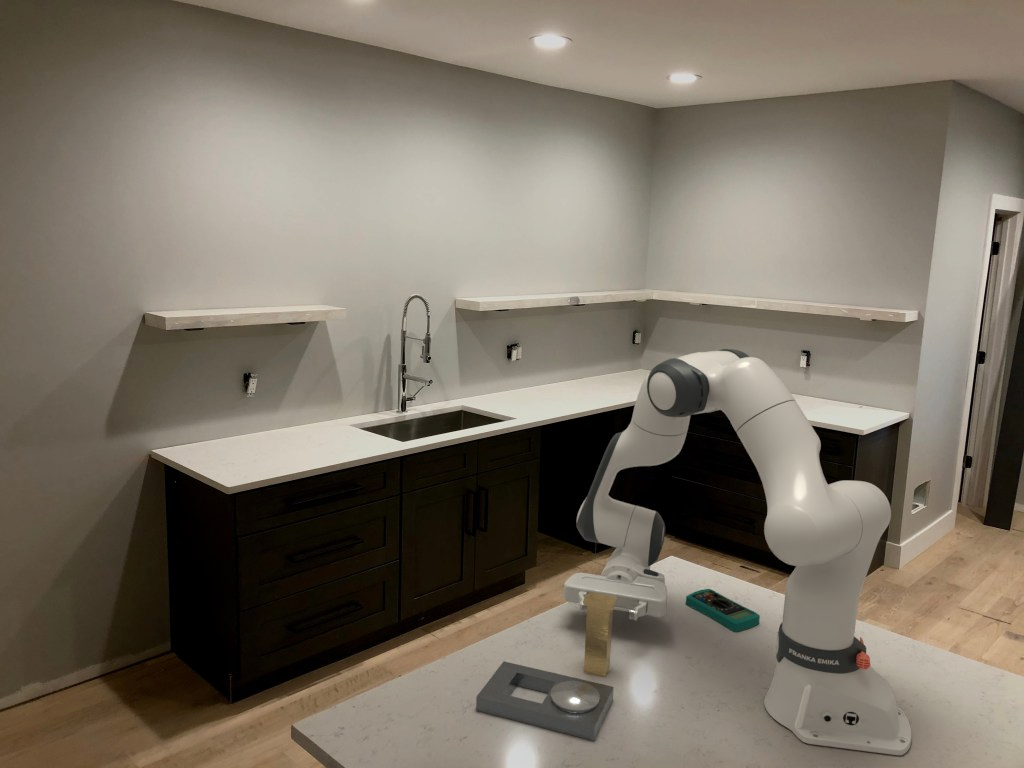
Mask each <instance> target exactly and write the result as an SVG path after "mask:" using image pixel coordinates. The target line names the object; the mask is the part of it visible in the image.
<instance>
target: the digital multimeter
mask: <svg viewBox="0 0 1024 768" xmlns="http://www.w3.org/2000/svg"><path fill="white" fill-rule="evenodd" d="M685 599H686V600H685V605H686V606H687V607H690V608H691V609H693V610H695V611H697V612H699V613H701V614H703V615H705V616H707V617H709V618H710V619H711V620H713V621H715V622H717V623H719V624H721V625H723V627H725V628H727V629H728V630H730V631H732V632H734V633H736V632H741V631H745V630H748V629H751V628H753V627H756V626H757V625H759V624H760V617H761V616H760V615H759V614H758V613H757V612H755V611H753V610H751V609H750V608H748V607H745V606H743V605H742V604H739V603H738V602H736V601H733V600H731V599H730V598H727V597H726V596H724V595H722V594H720V593H719V592H717V591H715V590H714V589H711V588H705V589H700V590H697V591H695V592H692V593H690V594H688V595H686V598H685Z"/></svg>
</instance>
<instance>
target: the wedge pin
mask: <svg viewBox="0 0 1024 768" xmlns="http://www.w3.org/2000/svg"><path fill="white" fill-rule="evenodd" d="M616 603H617V597H615V596H610V595H605V594H600V593H594V592H589V593H588V594H587V596H586V597H585V599H584V604H583V605H586V606H587V612H586V618H585V619H586V620H585V622H586V623H585V637H584V639H585V641H584V642H585V643H584V657H583V658H584V659H583V660H584V661H583V662H584V663H583V673H586V674H590V675H595V676H600V677H604V678H606V677H607V675H608V673H609V671H610V667H611V652H612V651H611V650H612V649H611V648H612V634H613V633H612V632H613V619H614V618H613V616H614V609H613V608H614V607H615V605H616Z"/></svg>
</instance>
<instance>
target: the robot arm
mask: <svg viewBox="0 0 1024 768" xmlns="http://www.w3.org/2000/svg"><path fill="white" fill-rule="evenodd" d="M716 411H722V413H724V414H725V416H726V417H727V419H728V420H729V421H730V425H732V427H733V429H734V431H735V433H736V434H737V437H738V439H740V442H741V443H742V445H743V447H744V449H745V450H746V453H747V454H748V456H749V457H750V459H751V461H752V463H753V464H754V466H755V469H756V470H757V472H758V476H759V478H760V480H761V482H762V483H761V484H762V487H763V490H764V494H765V495H764V496H765V500H766V506H767V513H766V514H767V515H766V516H765V517H766V518H765V521H764V525H763V526H764V527H763V528H764V529H763V532H764V537H765V541H766V543H767V545H768V548H769V550H770V551H771V552H772V553H773V555H774V556H775V557H776V558H778V560H780V561H782V562H783V563H785V564H786V565H789V566H794V570H793V571H792V572H791V573H790V575H789V576H788V579H787V582H786V584H785V591H784V602H783V611H782V612H783V613H782V621H781V623H780V624H779V628H778V631H777V637H776V644H775V645H776V646H775V655H776V656H775V657H776V663H775V664H776V665H775V668H774V672H773V675H772V679H771V683H770V685H769V688H768V691H767V693H766V694H765V696H764V699H763V704H764V707H765V709H766V711H767V713H768V714H769V715H770V716H771V718H773V719H774V720H775V721H776V722H778V723H779V724H781V725H782V726H783V727H786V728H787V729H789V730H790V731H792V733H793V734H794V735H795V736H796V737H797V738H798V739H799V740H800V741H801V742H803V743H804V744H805V743H806V744H808V745H816V746H823V747H832V748H838V749H845V750H846V749H848V750H855V751H862V752H870V753H876V754H877V753H879V754H885V755H892V756H903V755H905V754H906V753H907V752H908V751H909V750H910V748H911V746H912V745H911V744H912V729H911V723H910V722H909V721H910V720H909V719H908V717H907V715H906V714H905V713H904V711H903V710H902V709H901V708H900V707H899V706H898V701H897V698H896V697H897V696H896V695H895V692H894V690H893V688H892V686H891V683H890V682H889V681H888V679H886V678H885V677H883V676H882V675H881V674H880V673H879V672H878V671H877V670H875V669H874V668H873V667H872V666H871V658H870V655H868V654H867V646H866V645H865V643H864V640H863V638H862V636H860V637H859V639H858V638H857V637H856V636H855V633H856V632H855V631H856V626H857V625H856V624H857V615H858V608H859V601H860V596H861V593H862V589H863V587H864V586H863V585H864V583H865V580H866V577H867V575H868V572H869V570H870V567H871V563H872V561H873V558H874V554H875V552H876V549H877V546H878V544H879V542H880V540H881V537H882V535H883V534H884V532H885V531H886V530H887V528H888V526H889V524H890V522H891V519H892V510H891V504H890V502H889V500H888V497H887V496H886V495H885V493H884V492H883V491H882V490H881V489H880V488H879V487H877V486H876V485H875V484H873V483H870V482H867V481H865V480H864V481H862V480H847V479H846V480H839V481H835V482H832V483H829V484H828V482H827V480H826V477H825V475H824V473H823V469H822V466H821V462H820V461H821V460H820V453H821V452H820V451H821V447H822V445H821V444H822V443H821V440H820V437H819V435H818V434H817V432H816V430H815V429H814V427H813V426H812V424H811V423H810V421H809V419H808V418H807V416H806V414H804V412H803V410H802V409H801V406H800V405H799V404H798V402H797V400H796V399H795V397H794V396H793V394H792V393H791V392H790V390H789V388H788V387H787V386H786V385H785V383H784V382H783V381H782V380H781V378H780V377H779V376H778V375H777V374H776V372H774V370H773V369H772V368H771V367H770V366H769V365H768V364H767V363H766V362H765V361H764V360H762V359H761V358H758V357H754V356H750V355H749V354H747V353H745V351H741V350H739V349H732V348H730V349H729V348H724V349H719V350H711V351H705V352H704V351H698V352H697V351H696V352H693V353H689V354H685V355H682V356H679V357H678V356H677V357H675V358H674V357H673V358H669V359H666V360H664V361H662V362H660V363H658V364H657V365H655V366H654V367H653V368H651V370H650V371H649V372H648V373H647V374H646V376H645V377H644V379H643V381H642V384H641V386H640V388H639V391H638V394H637V398H636V400H635V403H634V407H633V412H632V416H631V421H630V423H629V424H628V426H627V428H626V429H625V430H623V431H621V432H618V433H615V434H614V435H613V436H612V438H611V439H610V441H609V443H608V445H607V447H606V449H605V451H604V454H603V456H602V459H601V461H600V463H599V466H598V469H597V470H596V473H595V476H594V479H593V481H592V483H591V486H590V488H589V491H588V494H587V495H586V497H585V499H584V500H583V502H582V504H581V505H580V508H579V509H578V511H577V516H576V528H577V531H578V532H579V534H580V535H581V536H582V538H583V539H584V540H585V541H587V542H592V543H595V544H596V543H597V544H603V545H606V546H610V547H613V548H614V551H613V552H612V553H611V554H610V557H608V561H607V563H606V564H605V566H604V568H603V570H602V572H601V573H600V574H599V575H598V574H593V573H587V572H575V573H573V574H572V575H571V576H569V577H568V578H567V579H566V581H564V583H563V592H562V595H563V596H562V597H563V599H564V601H566V602H567V603H575V604H578V606H579V611H580V612H586V613H587V606H586V605H583V604H584V599H585V597H586V596H587V594H588V593H589V592H594V593H600V594H605V595H610V596H615V597H617V603H616V605H615V607H614V608H613V611H620V612H621V611H622V612H625V613H626V612H627V613H628V615H629V616H628V619H629V620H632V621H636V622H637V621H638V618H641V617H644V616H651V617H656V618H662V617H666V614H667V605H668V603H667V602H668V587H667V585H666V581H665V580H666V579H665V575H664V574H663V573H660V572H658V571H654V570H651V566H652V565H654V564H655V563H657V561H658V560H659V556H660V554H661V552H662V549H663V545H664V542H665V537H666V536H665V535H666V525H665V522H664V520H663V518H662V516H661V514H660V513H659V512H658V511H656V510H654V509H653V510H652V509H649V508H646V507H644V506H640V505H635V504H631V503H627V502H624V501H620V500H618V499H614V498H612V497H611V496H610V495H609V493H610V491H611V488H612V486H613V484H614V481H615V479H616V476H617V474H618V473H619V472H620V471H621V470H626V469H629V468H634V467H635V468H637V467H652V466H658V465H662V464H665V463H668V462H670V461H671V460H673V459H674V458H676V457H677V455H679V454H680V452H681V450H682V449H683V446H684V444H685V441H686V437H687V433H688V431H689V425H690V420H691V416H692V415H699V414H705V413H713V412H716Z"/></svg>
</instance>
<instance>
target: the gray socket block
mask: <svg viewBox="0 0 1024 768" xmlns="http://www.w3.org/2000/svg"><path fill="white" fill-rule="evenodd" d="M516 687H521V688H524V689H528V690H534V691H538V692H540V693H546V694H547V695H546V696H545V698H544V699H543V701H542V703H541V702H537V701H534V700H529V699H525V698H520V697H517V696H513V695H512V693H513V692H514V690H515V689H516ZM614 687H615V686H611V685H607V684H603V683H599V682H595V681H589V680H586V679H581V678H577V677H574V676H567V675H564V674H560V673H556V672H552V671H547V670H543V669H539V668H534V667H529V666H525V665H522V664H516V663H514V662H507V661H504V660H503V662H502V663H501V664H500V665H499V666H498V667H497V669H496V670H495V672H494V673H493V674H492V676H491V677H490V678H489V680H488V681H487V682H486V683H485V685H484V686H483V687H482V689H480V691H479V692H478V693H477V695H476V697H475V699H476V700H475V701H476V703H475V704H476V705H475V706H476V707H475V711H476V712H480V713H484V714H488V715H491V716H495V717H499V718H504V719H507V720H511V721H515V722H519V723H523V724H526V725H530V726H534V727H538V728H543V729H546V730H550V731H553V732H554V731H555V732H556V733H557V732H558V733H561V734H566V735H569V736H573V737H577V738H581V739H585V740H588V741H593V742H595V740H596V738H597V735H598V733H599V731H600V729H601V726H602V724H603V722H604V721H605V718H606V716H607V715H608V712H609V710H610V707H611V705H612V703H613V701H614V691H615V690H614ZM512 691H513V692H512Z"/></svg>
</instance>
